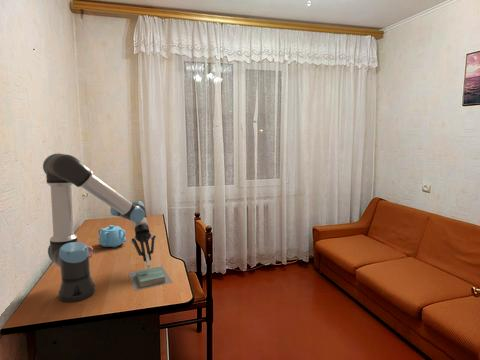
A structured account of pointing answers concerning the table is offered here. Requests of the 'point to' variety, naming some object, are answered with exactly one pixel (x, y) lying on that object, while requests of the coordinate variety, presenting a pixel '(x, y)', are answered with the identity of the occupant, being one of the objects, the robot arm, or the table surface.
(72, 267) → the robot arm
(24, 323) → the table surface
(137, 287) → the mat
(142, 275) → the plaque
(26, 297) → the table surface
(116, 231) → the decorative pot
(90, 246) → the decorative key
